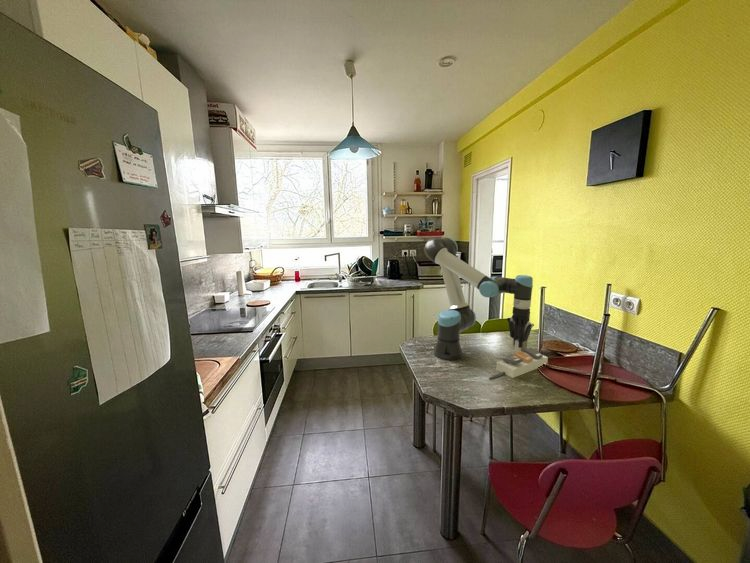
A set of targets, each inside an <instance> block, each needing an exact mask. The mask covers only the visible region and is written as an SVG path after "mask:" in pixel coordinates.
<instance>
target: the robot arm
mask: <svg viewBox="0 0 750 563" xmlns="http://www.w3.org/2000/svg"><path fill="white" fill-rule="evenodd" d="M423 249H424V250H423V251H424V254H425V256H426V257H427V258H428V259H429V260H431V261H432V262H433V263H434V264H437V265H439V266H440V269H441V270H440V271H441V275H442V277H443V281H444V286H445V289H446V290H445V291H446V294H447V298H448V301H449V307H448V309H447V310H446V309H445V310H442V311H441V312H440V313H439V314H438V317H437V336H436V337H437V339H436V342H435V345H434V348H433V355H434V356H436V357H437V358H440V359H443V360H459V359H460V358H462V357H463V350H462V347H461V343H460V337H461V335H460V334H461V333H462V332H464V331H466V330H469V329H470V328H471V327H473V326H474V324H475V323H476V320H477V317H476V313H475V311H474V310H473V309H472V308H470V304H469V303H468V302H466V299H465V295H464V290H463V288H462V287H463V286H462V283H461V279H462V280H464V281H465V282H466V283H468V284H470V285H471V286H473V287H474V288H476V290H479V291H478V292H479V293H480V295H481V296H483V297H484V298H492V297H496V296H498V295H501V294H504V293H505V294H511V295H513V303H512V305H513V307H512V316H511V317H507V320H506V321H507V322H508V328H509V329H508V330H509V335H510V338H511V339H512V338H513V339H514V343H513V345H514V346H515V347H514V350H513V354H514V353H515V352H516V353H519V352H521V348H522V347H523V342H524V341H527V342H528V340H529V337H530V334H531V332H532V329H533V327H534V326H535V324H534V323H531V321H530V320H529V315H530V316H531V306H532V305H531V303H532V294H533V287H534V285H533V282H534V281H533V280H534V279H533V277H532V276H531V275H527V274H518V275H516V276H515V277H514V278H510V277H504V276H503V277H502V276H491V277H489V276H487V275H486V274H484V273H483V272H481V271H480V270H478V269H476V268H475V267H473V266H472V265H470V264H468V263H467V262H465V261H464V260H462V259H461V258H460V257H457V252H458V251H459V248H458V243H457V242H456V241H455V240H454V239H453V238H451V237H445V236H444V237H433V238H430V239H428V240H427V242H426V243H425V245H424V247H423ZM460 278H461V279H460ZM526 324H527V327H526ZM525 327H526V330H525ZM524 332H525V333H524Z"/></svg>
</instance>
